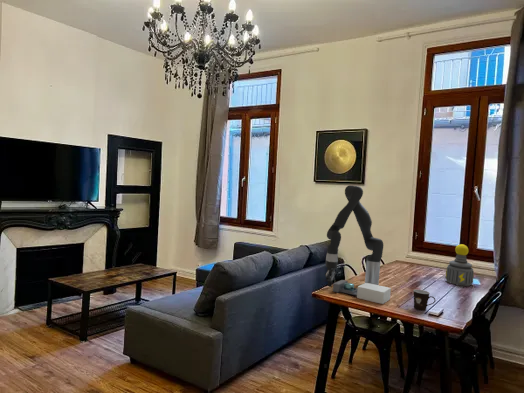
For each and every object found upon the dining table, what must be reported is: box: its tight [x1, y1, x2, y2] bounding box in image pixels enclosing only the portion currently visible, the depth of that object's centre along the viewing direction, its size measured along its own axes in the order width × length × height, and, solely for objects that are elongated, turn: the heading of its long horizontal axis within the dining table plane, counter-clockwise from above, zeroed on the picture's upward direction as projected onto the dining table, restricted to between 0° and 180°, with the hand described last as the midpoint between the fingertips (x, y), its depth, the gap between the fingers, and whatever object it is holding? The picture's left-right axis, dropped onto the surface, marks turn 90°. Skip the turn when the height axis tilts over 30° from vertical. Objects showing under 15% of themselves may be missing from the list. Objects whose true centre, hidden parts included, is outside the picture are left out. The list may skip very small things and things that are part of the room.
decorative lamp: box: [445, 243, 475, 287], centre depth 293 cm, size 19×19×30 cm
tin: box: [344, 282, 355, 291], centre depth 243 cm, size 6×6×4 cm
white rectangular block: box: [356, 282, 392, 305], centre depth 234 cm, size 14×16×7 cm
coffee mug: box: [413, 289, 436, 312], centre depth 219 cm, size 12×9×10 cm
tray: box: [332, 279, 358, 297], centre depth 242 cm, size 14×18×5 cm
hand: (329, 286), depth 251 cm, fingers closed
